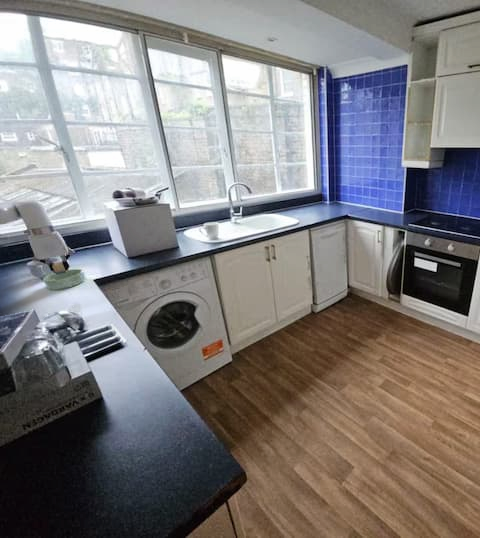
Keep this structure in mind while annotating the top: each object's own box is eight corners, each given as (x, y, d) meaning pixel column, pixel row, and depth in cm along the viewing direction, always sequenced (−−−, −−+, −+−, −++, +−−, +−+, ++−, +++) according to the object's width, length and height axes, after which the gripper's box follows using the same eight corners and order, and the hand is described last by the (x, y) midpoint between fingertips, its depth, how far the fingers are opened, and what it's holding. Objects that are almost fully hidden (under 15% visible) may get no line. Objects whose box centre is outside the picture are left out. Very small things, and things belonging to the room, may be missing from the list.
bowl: (45, 293, 126) (40, 283, 124) (49, 283, 135) (45, 274, 134) (85, 284, 133) (81, 275, 132) (87, 275, 143) (83, 266, 141)
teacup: (41, 273, 146) (34, 258, 143) (69, 269, 150) (62, 255, 147) (25, 285, 134) (17, 268, 131) (56, 280, 138) (48, 264, 135)
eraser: (66, 272, 129) (62, 264, 128) (56, 274, 127) (52, 266, 126) (67, 268, 134) (63, 260, 132) (57, 270, 132) (53, 262, 130)
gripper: (11, 236, 116) (34, 278, 123) (67, 228, 125) (85, 268, 132) (15, 233, 121) (37, 273, 128) (69, 225, 130) (86, 263, 138)
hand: (61, 270), depth 130 cm, fingers closed on eraser, 3 cm apart
